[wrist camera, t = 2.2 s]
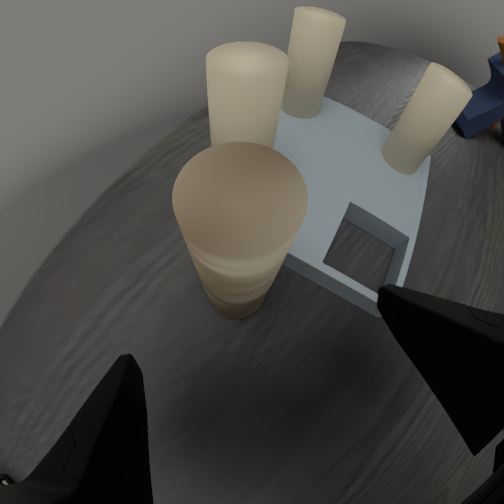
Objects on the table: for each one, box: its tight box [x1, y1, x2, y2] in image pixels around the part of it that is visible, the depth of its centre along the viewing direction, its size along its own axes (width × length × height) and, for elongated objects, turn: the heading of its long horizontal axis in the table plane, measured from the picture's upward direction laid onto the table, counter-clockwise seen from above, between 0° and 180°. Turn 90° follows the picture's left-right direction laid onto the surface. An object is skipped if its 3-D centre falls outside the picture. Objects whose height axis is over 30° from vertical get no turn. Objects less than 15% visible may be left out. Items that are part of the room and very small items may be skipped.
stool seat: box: [206, 6, 472, 318], centre depth 18 cm, size 18×18×13 cm
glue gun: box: [454, 37, 504, 139], centre depth 27 cm, size 6×31×15 cm
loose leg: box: [172, 142, 308, 320], centre depth 14 cm, size 4×4×13 cm
